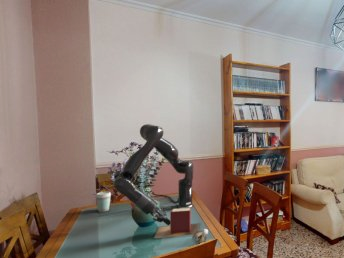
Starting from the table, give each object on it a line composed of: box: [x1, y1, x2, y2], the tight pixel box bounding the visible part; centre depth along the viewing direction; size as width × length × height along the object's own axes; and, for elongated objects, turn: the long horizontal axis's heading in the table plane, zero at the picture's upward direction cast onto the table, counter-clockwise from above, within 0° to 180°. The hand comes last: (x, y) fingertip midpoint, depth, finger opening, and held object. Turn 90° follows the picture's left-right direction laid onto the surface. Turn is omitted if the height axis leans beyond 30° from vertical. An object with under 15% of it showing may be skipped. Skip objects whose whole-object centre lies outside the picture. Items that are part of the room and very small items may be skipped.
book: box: [169, 207, 192, 233], centre depth 143 cm, size 10×5×12 cm, turn 105°
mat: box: [153, 223, 200, 239], centre depth 144 cm, size 22×14×1 cm, turn 106°
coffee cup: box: [95, 191, 112, 213], centre depth 172 cm, size 8×8×12 cm
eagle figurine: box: [191, 228, 209, 246], centre depth 132 cm, size 8×7×9 cm
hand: (170, 223), depth 142 cm, fingers closed
